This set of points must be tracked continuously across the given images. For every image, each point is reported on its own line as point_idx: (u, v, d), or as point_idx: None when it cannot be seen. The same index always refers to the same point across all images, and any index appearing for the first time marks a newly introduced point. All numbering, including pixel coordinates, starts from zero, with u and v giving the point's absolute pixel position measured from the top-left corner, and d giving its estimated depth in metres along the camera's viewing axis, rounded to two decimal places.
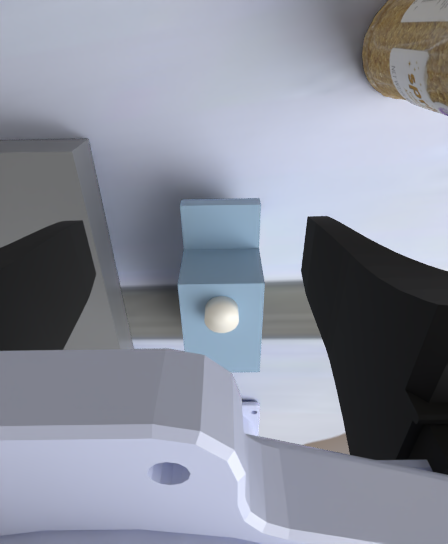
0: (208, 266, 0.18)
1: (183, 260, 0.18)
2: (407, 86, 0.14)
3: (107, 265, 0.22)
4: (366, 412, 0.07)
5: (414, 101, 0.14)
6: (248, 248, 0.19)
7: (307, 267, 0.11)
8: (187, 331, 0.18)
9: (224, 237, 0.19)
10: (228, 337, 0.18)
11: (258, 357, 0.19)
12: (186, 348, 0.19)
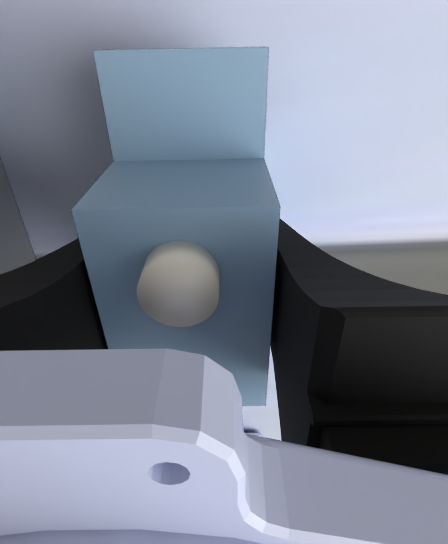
0: (154, 182, 0.08)
1: (105, 174, 0.09)
2: None
3: None
4: (289, 413, 0.07)
5: None
6: (242, 159, 0.10)
7: None
8: (112, 324, 0.08)
9: (194, 132, 0.09)
10: (199, 338, 0.09)
11: (263, 378, 0.09)
12: None
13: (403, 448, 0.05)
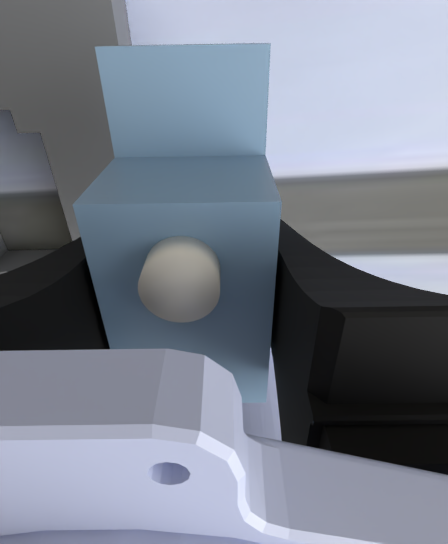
0: (155, 178, 0.08)
1: (106, 170, 0.09)
2: None
3: None
4: (289, 413, 0.07)
5: None
6: (243, 155, 0.10)
7: None
8: (113, 320, 0.08)
9: (195, 129, 0.09)
10: (200, 334, 0.09)
11: (264, 374, 0.10)
12: None
13: (403, 448, 0.05)
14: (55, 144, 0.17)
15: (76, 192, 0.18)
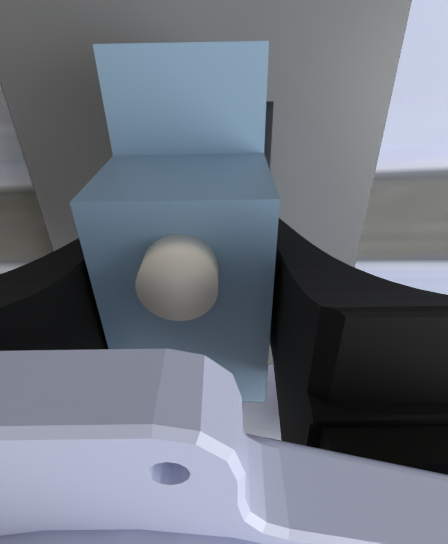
0: (153, 175, 0.08)
1: (104, 168, 0.09)
2: None
3: None
4: (289, 414, 0.07)
5: None
6: (242, 153, 0.10)
7: None
8: (111, 319, 0.08)
9: (193, 127, 0.09)
10: (199, 333, 0.09)
11: (263, 373, 0.09)
12: None
13: (403, 448, 0.05)
14: (288, 117, 0.13)
15: (292, 178, 0.15)
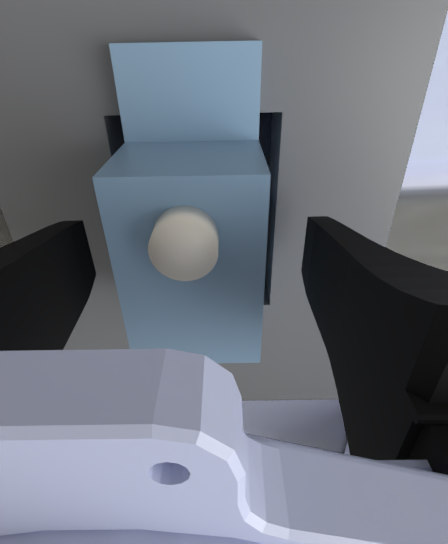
0: (161, 157, 0.09)
1: (118, 152, 0.10)
2: None
3: None
4: (365, 412, 0.07)
5: None
6: (239, 140, 0.11)
7: (307, 267, 0.11)
8: (124, 283, 0.10)
9: (196, 116, 0.10)
10: (201, 297, 0.10)
11: (258, 335, 0.11)
12: (126, 318, 0.10)
13: None
14: (299, 130, 0.11)
15: (303, 200, 0.13)
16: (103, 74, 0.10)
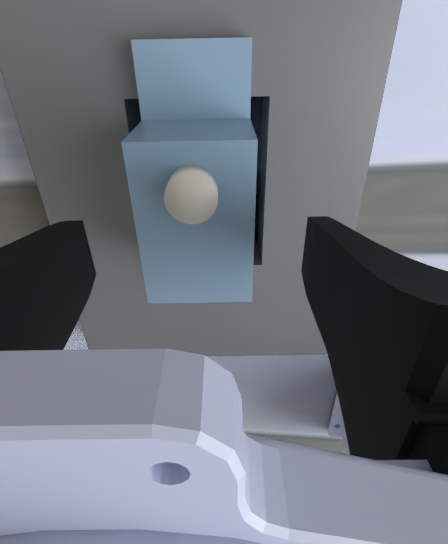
0: (173, 130, 0.12)
1: (137, 127, 0.12)
2: None
3: None
4: (365, 412, 0.07)
5: None
6: (234, 118, 0.13)
7: (307, 267, 0.11)
8: (143, 231, 0.12)
9: (199, 99, 0.13)
10: (204, 242, 0.12)
11: (250, 277, 0.13)
12: (144, 261, 0.13)
13: None
14: (284, 111, 0.14)
15: (288, 172, 0.15)
16: (124, 65, 0.13)
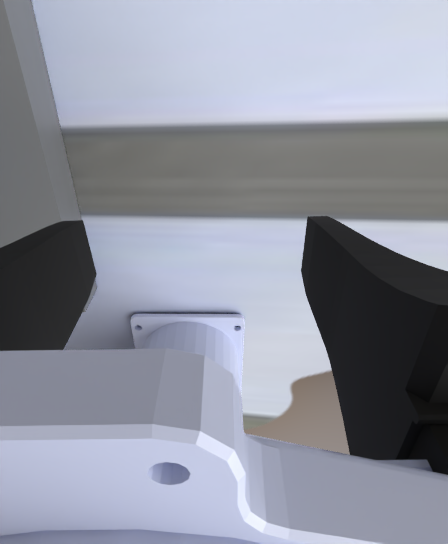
0: None
1: None
2: None
3: (34, 71, 0.16)
4: (366, 412, 0.07)
5: None
6: None
7: (307, 267, 0.11)
8: None
9: None
10: None
11: None
12: None
13: None
14: None
15: None
16: None
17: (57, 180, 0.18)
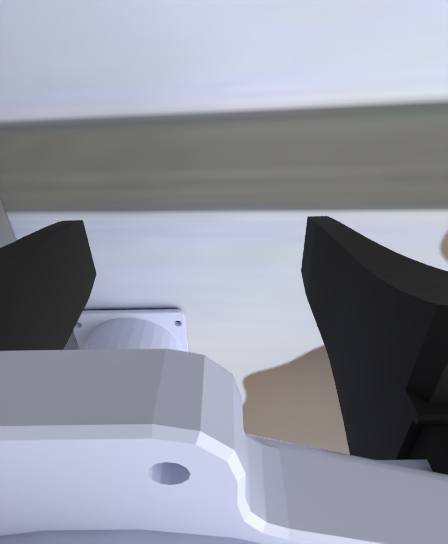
0: None
1: None
2: None
3: None
4: (365, 412, 0.07)
5: None
6: None
7: (307, 267, 0.11)
8: None
9: None
10: None
11: None
12: None
13: None
14: None
15: None
16: None
17: None
